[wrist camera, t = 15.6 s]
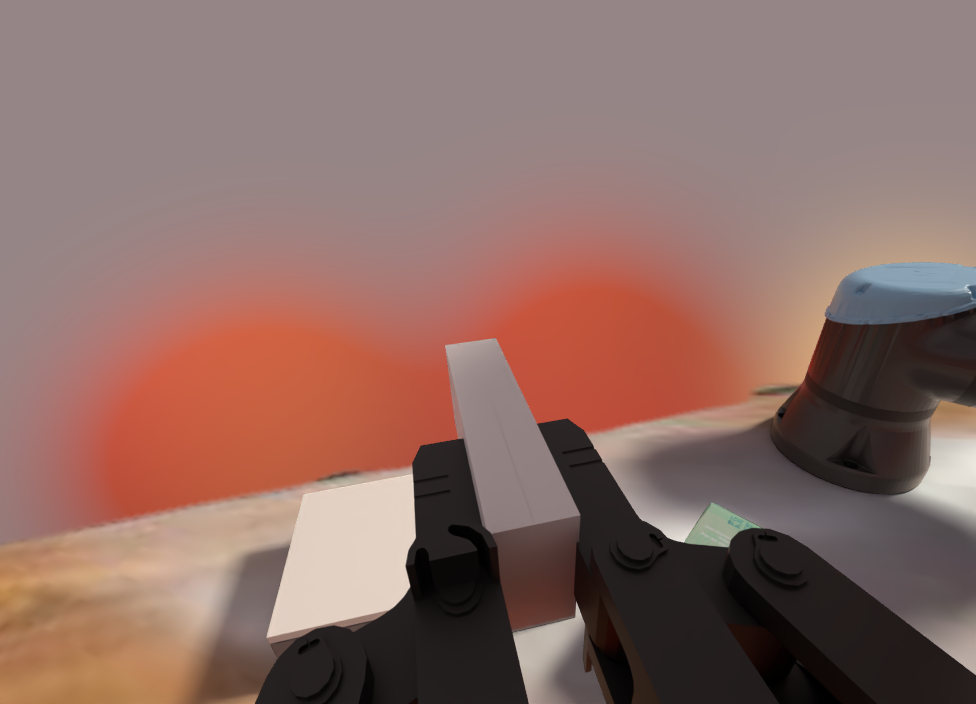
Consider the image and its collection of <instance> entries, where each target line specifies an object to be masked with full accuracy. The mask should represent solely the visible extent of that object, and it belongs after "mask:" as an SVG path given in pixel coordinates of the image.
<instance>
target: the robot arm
mask: <svg viewBox="0 0 976 704" xmlns="http://www.w3.org/2000/svg"><path fill="white" fill-rule="evenodd" d="M825 316H826V317H827V318H826V320H825V323H824V326H823V329H822V331H821V334H820V337H819V340H818V342H817V345H816V348H815V351H814V354H813V356H812V359H811V362H810V365H809V367H808V371H807V373H806V376H805V379H804V381H803V383H802V384H801V385H800V386H799V387H798V388H797V389H796V390H795V392H794V393H793V394H792V395H791V396H790V397H789V398H788V399H787V400H786V402H785V403H784V404H783V405H782V406H781V407H780V408H779V409H778V411H777V412H776V414H775V417H774V420H773V423H772V426H771V437H772V439H773V441H774V443H775V445H776V446H777V447H778V449H779V450H780V451H781V452H782V453H783V454H784V455H785V456H786V457H787V458H789V459H790V460H791V461H792V462H794V463H795V464H797V465H798V466H800V467H801V468H803V469H804V470H806V471H808V472H810V473H812V474H814V475H816V476H818V477H820V478H822V479H824V480H827V481H829V482H832V483H834V484H837V485H840V486H844V487H847V488H851V489H855V490H859V491H864V492H870V493H881V494H894V493H902V492H906V491H909V490H912V489H914V488H915V487H917V486H918V485H919V484H920V483H921V481H922V479H923V478H924V476H925V474H926V473H927V471H928V469H929V466H930V460H931V456H930V436H931V435H930V420H931V417H932V415H933V413H934V411H935V409H936V408H937V406H938V404H939V403H940V401H941V400H942V401H948V402H953V403H957V404H961V405H965V406H969V407H975V408H976V267H963V266H962V265H959V264H948V263H931V262H912V263H893V264H883V265H877V266H871V267H867V268H864V269H860V270H858V271H855V272H853V273H851V274H849V275H848V276H846V277H845V278H844V279H843V280H842V281H841V282H840V284H839V286H838V288H837V290H836V292H835V295H834V297H833V299H832V302H831V304H830V306H828V308H827V309H826V312H825ZM445 347H446V355H447V363H448V371H449V378H450V385H451V394H452V402H453V409H454V418H455V423H456V429H457V434H458V438H459V439H456V440H451V441H445V442H440V443H434V444H428V445H422V446H420V448H419V450H418V452H417V455H416V457H415V459H414V461H413V463H412V465H413V483H414V485H413V488H414V510H415V533H416V539H415V540H414V542H413V543H412V545H411V547H410V548H409V550H408V555H407V560H406V565H405V567H406V571H407V575H408V579H409V583H410V588H409V589H408V591H407V593H406V594H405V596H404V597H403V598H402V599H401V600H400V601H399V602H398V603H397V604H396V605H395V607H393V608H392V609H390V610H389V611H388V612H386V613H385V614H383V615H382V616H380V617H379V618H377V619H375V620H373V621H372V622H370V623H368V624H366V625H365V626H363V627H361V628H360V629H358V630H356V631H354V632H352V631H351V630H350V629H348V628H343V627H339V626H335V625H332V626H327V627H321V628H316V629H314V630H312V631H310V632H309V633H307V634H305V635H303V636H301V637H300V638H298V639H296V640H295V641H294V642H293V643H292V644H291V645H290V646H289V647H288V648H287V649H286V650H285V651H284V652H283V653H282V654H281V655H280V656H279V658H278V659H277V661H276V663H275V664H274V666H273V668H272V669H271V671H270V673H269V674H268V676H267V678H266V680H265V682H264V684H263V687H262V689H261V691H260V693H259V696H258V698H257V700H256V702H255V704H529V703H528V698H527V694H526V690H525V685H524V681H523V677H522V673H521V668H520V664H519V660H518V655H517V651H516V647H515V642H514V638H513V634H512V630H516V629H520V628H524V627H529V626H533V625H537V624H541V623H545V622H549V621H553V620H557V619H561V618H566V617H570V616H574V615H575V603H576V601H577V604H578V607H579V609H580V612H581V614H582V617H583V620H584V622H585V636H584V648H583V662H584V668H585V673H586V672H589V671H591V666H592V665H593V667H594V670H595V673H596V676H597V678H598V681H599V684H600V687H601V689H602V692H603V695H604V698H605V700H606V703H607V704H976V675H975V674H973V673H972V672H971V671H969V670H968V669H967V668H965V667H964V666H963V665H962V664H960V663H959V662H958V661H956V660H955V659H954V658H952V657H951V656H950V655H948V654H947V653H946V652H944V651H943V650H942V649H941V648H939V647H938V646H937V645H935V644H934V643H933V642H931V641H930V640H929V639H927V638H926V637H925V636H923V635H922V634H921V633H920V632H918V631H917V630H916V629H914V628H913V627H912V626H910V625H909V624H908V623H906V622H905V621H904V620H902V619H901V618H900V617H899V616H897V615H896V614H895V613H893V612H892V611H891V610H889V609H888V608H887V607H885V606H884V605H883V604H881V603H880V602H879V601H877V600H876V599H875V598H874V597H872V596H871V595H870V594H868V593H867V592H866V591H864V590H863V589H862V588H860V587H859V586H858V585H856V584H855V583H854V582H853V581H851V580H850V579H849V578H847V577H846V576H845V575H843V574H842V573H841V572H839V571H838V570H837V569H835V568H834V567H833V566H832V565H830V564H829V563H828V562H826V561H825V560H824V559H822V558H821V557H820V556H818V555H817V554H816V553H814V552H813V551H812V550H811V549H809V548H808V547H807V546H805V545H803V544H802V543H800V542H798V541H797V540H795V539H793V538H792V537H790V536H788V535H785V534H783V533H780V532H777V531H774V530H771V529H763V528H749V529H746V530H742V531H739V532H738V533H737V534H736V535H735V536H734V537H733V538H732V539H731V541H730V544H729V547H720V546H709V545H698V544H688V543H683V542H678V541H674V540H672V539H669V538H667V537H666V536H665V535H664V534H663V533H662V532H661V530H659V529H657V528H656V527H654V526H652V525H650V524H649V523H647V522H645V521H642V520H641V519H640V518H639V517H638V515H637V514H636V513H635V511H634V510H633V508H632V506H631V505H630V503H629V502H628V500H627V499H626V497H625V495H624V494H623V492H622V491H621V489H620V487H619V486H618V484H617V483H616V481H615V479H614V478H613V476H612V475H611V473H610V471H609V470H608V468H607V467H606V465H605V463H603V462H602V459H601V457H600V455H599V454H598V452H597V451H596V449H594V446H593V444H592V443H591V441H590V439H589V438H588V436H587V435H586V433H585V432H584V430H583V429H581V428H580V427H578V426H577V425H576V424H574V423H573V422H571V421H570V420H569V419H562V420H557V421H551V422H546V423H539V424H537V423H536V421H535V419H534V417H533V415H532V413H531V411H530V409H529V407H528V405H527V403H526V400H525V398H524V396H523V394H522V392H521V390H520V388H519V386H518V384H517V382H516V380H515V378H514V375H513V373H512V371H511V369H510V367H509V365H508V363H507V361H506V359H505V356H504V354H503V353H502V350H501V348H500V346H499V344H498V342H497V340H496V338H493V339H487V340H479V341H473V342H465V343H459V344H453V345H446V346H445Z"/></svg>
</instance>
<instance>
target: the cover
mask: <svg viewBox="0 0 976 704" xmlns="http://www.w3.org/2000/svg"><path fill="white" fill-rule="evenodd" d="M413 485H414V483H413V474H411V475H405V476H400V477H395V478H389V479H384V480H378V481H373V482H368V483H362V484H357V485H351V486H346V487H340V488H335V489H330V490H324V491H319V492H313V493H308V494H304V495H303V499H302V503H301V507H300V511H299V514H298V518H297V522H296V526H295V530H294V534H293V537H292V541H291V545H290V549H289V553H288V557H287V560H286V564H285V568H284V572H283V576H282V579H281V583H280V587H279V591H278V595H277V599H276V602H275V606H274V610H273V614H272V618H271V622H270V625H269V629H268V633H267V637H266V638H267V640H268V642H269V644H271V643H276V642H280V641H284V640H289V639H293V638H297V637H301V636H303V635H305V634H307V633H309V632H310V631H312V630H314V629H316V628H321V627H327V626H332V625H335V626H339V627H346V626H350V625H354V624H359V623H363V622H367V621H372V620H375V619H377V618H379V617H380V616H382V615H383V614H385V613H386V612H388V611H389V610H390V609H392V608H393V607H395V605H396V604H397V603H398V602H399V601H400V600H401V599H402V598H403V597H404V596H405V594H406V593H407V591H408V589H409V588H410V583H409V579H408V575H407V571H406V567H405V565H406V560H407V555H408V550H409V548H410V547H411V545H412V543H413V542H414V540H415V539H416V533H415V510H414V488H413Z"/></svg>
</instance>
